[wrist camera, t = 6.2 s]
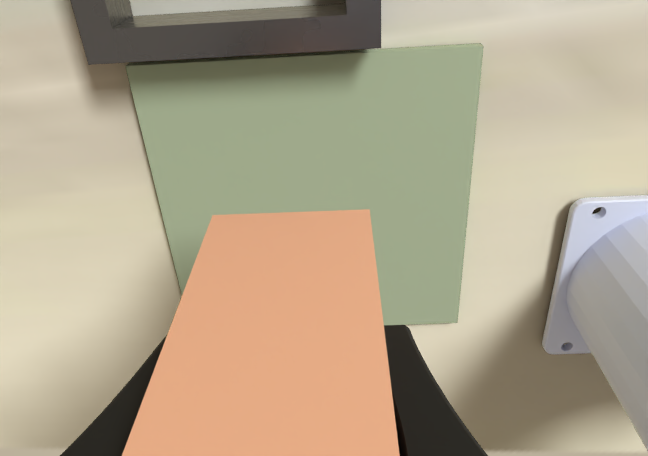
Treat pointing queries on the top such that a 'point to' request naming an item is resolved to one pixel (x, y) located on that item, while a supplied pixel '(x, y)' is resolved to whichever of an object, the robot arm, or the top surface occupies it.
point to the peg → (275, 345)
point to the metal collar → (223, 31)
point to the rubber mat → (323, 154)
